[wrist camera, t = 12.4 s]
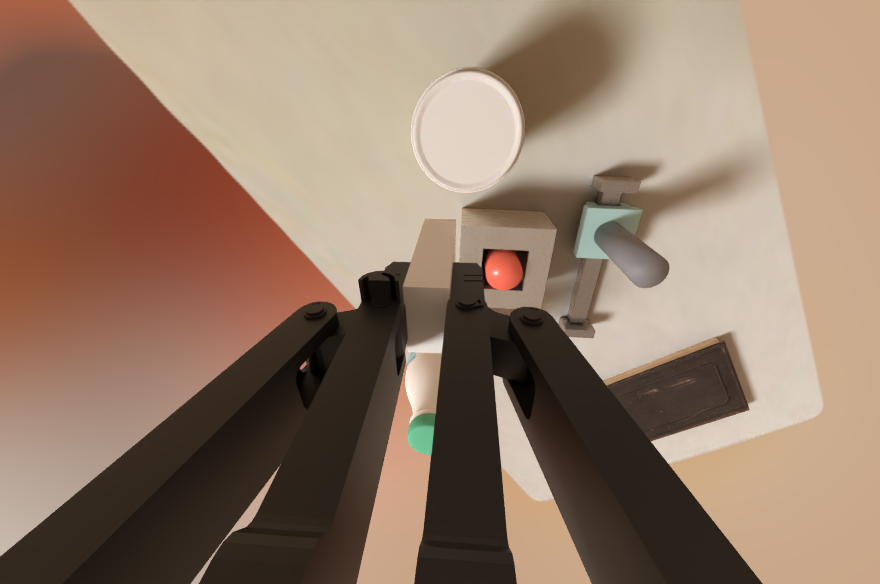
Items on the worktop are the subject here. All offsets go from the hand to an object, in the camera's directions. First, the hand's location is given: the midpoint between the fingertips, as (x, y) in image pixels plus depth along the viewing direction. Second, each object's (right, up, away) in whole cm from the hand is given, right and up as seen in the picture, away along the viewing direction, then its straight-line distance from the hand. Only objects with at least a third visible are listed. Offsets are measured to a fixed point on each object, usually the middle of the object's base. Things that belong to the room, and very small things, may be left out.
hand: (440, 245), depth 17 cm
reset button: (+7, +2, +25) cm, 27 cm away
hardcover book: (+35, -19, +39) cm, 55 cm away
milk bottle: (0, -7, +34) cm, 35 cm away
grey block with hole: (+8, +4, +27) cm, 28 cm away
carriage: (+20, +6, +25) cm, 32 cm away
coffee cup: (+3, +16, +21) cm, 26 cm away
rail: (+20, +2, +27) cm, 33 cm away
